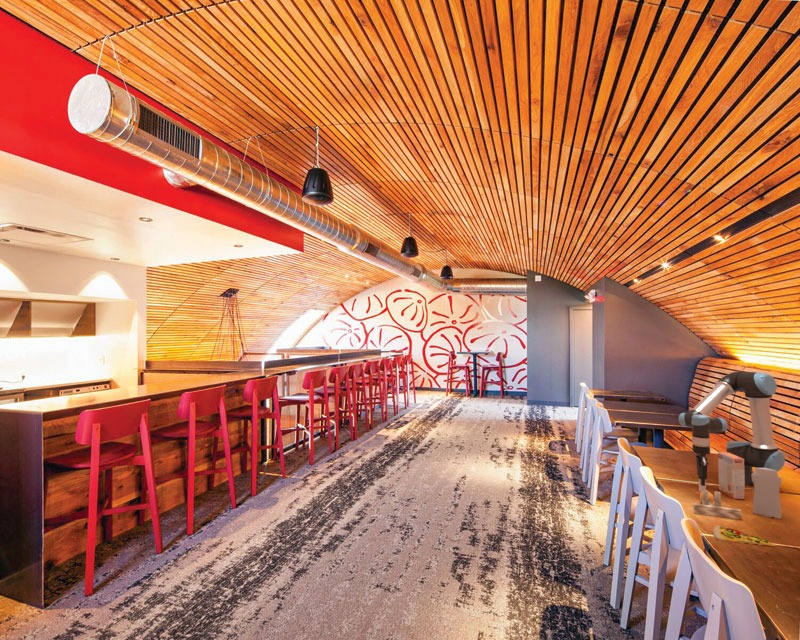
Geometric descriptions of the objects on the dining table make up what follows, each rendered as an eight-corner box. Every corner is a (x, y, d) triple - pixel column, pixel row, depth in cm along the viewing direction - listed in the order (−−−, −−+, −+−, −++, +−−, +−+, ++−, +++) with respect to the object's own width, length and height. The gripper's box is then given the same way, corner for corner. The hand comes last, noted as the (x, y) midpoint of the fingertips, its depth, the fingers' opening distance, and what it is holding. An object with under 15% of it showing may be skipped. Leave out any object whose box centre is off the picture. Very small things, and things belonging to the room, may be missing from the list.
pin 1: (707, 507, 208) (707, 490, 209) (709, 509, 206) (708, 491, 207) (701, 507, 209) (701, 489, 210) (703, 508, 207) (702, 491, 207)
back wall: (740, 518, 196) (739, 509, 197) (741, 519, 195) (741, 511, 195) (693, 511, 203) (693, 503, 203) (694, 513, 201) (694, 504, 202)
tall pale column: (781, 517, 198) (780, 469, 200) (782, 520, 195) (781, 471, 196) (752, 511, 205) (750, 464, 206) (752, 514, 201) (751, 466, 202)
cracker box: (746, 500, 220) (745, 458, 221) (732, 499, 221) (731, 458, 222) (730, 490, 233) (729, 452, 234) (718, 490, 235) (717, 451, 236)
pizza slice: (713, 528, 187) (713, 521, 187) (776, 542, 175) (775, 534, 175) (712, 541, 175) (712, 533, 175) (780, 557, 163) (779, 548, 163)
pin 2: (720, 509, 207) (719, 491, 207) (721, 511, 204) (721, 493, 205) (714, 508, 207) (713, 490, 208) (715, 510, 205) (715, 492, 206)
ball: (717, 499, 209) (714, 508, 212) (713, 490, 214) (711, 498, 217) (702, 496, 211) (699, 505, 214) (699, 487, 216) (697, 495, 219)
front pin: (712, 502, 209) (717, 508, 201) (712, 507, 209) (717, 514, 201) (706, 501, 210) (711, 508, 202) (706, 506, 210) (711, 513, 202)
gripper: (689, 441, 231) (690, 486, 230) (695, 447, 219) (697, 494, 218) (706, 443, 228) (707, 488, 227) (713, 448, 216) (715, 496, 215)
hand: (702, 491), depth 222 cm, fingers closed
